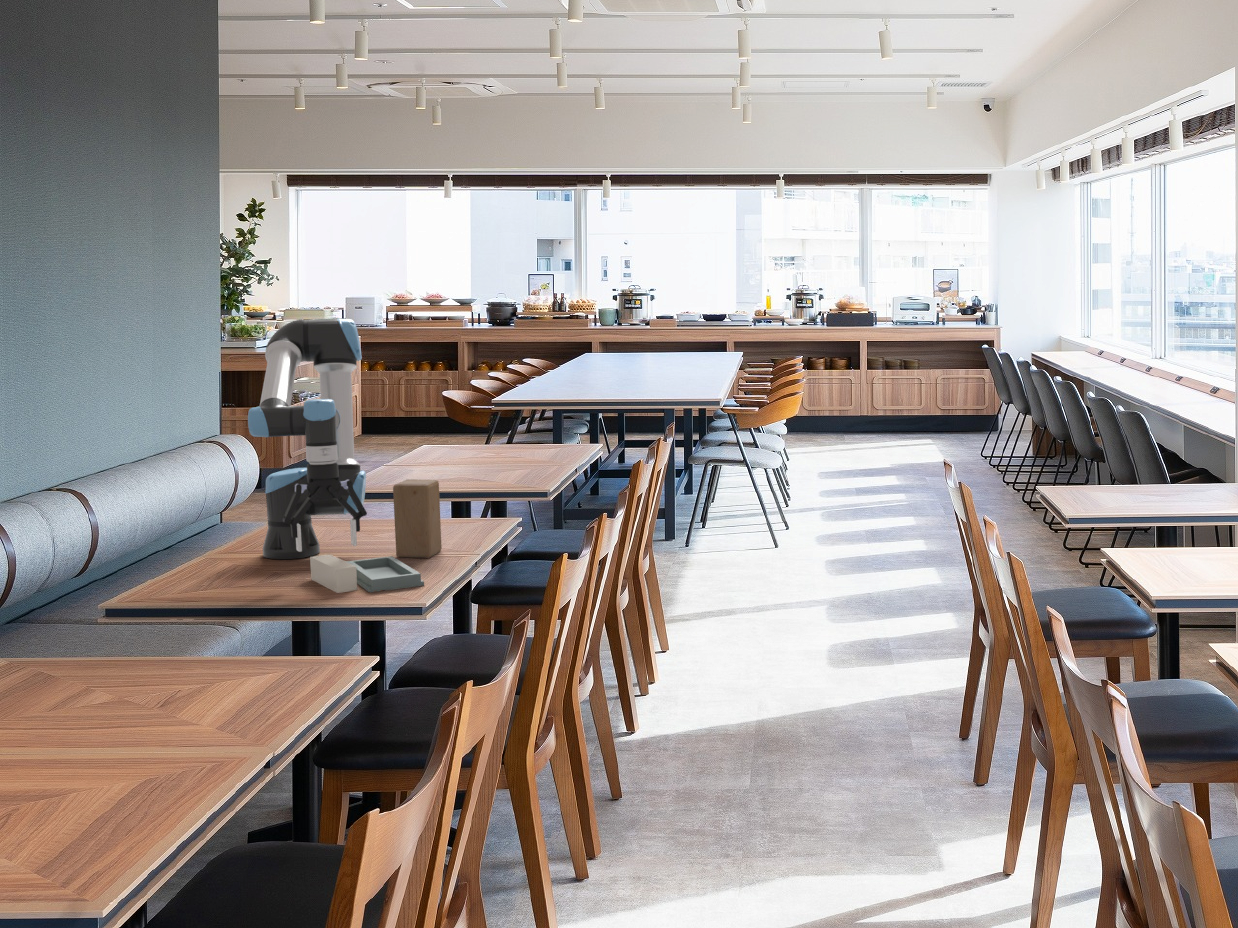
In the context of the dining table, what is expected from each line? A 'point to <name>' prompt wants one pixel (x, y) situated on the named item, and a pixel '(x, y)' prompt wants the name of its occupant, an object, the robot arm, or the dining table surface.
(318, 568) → the cream rectangular bar
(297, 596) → the dining table surface
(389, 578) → the tray
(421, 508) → the wooden block
